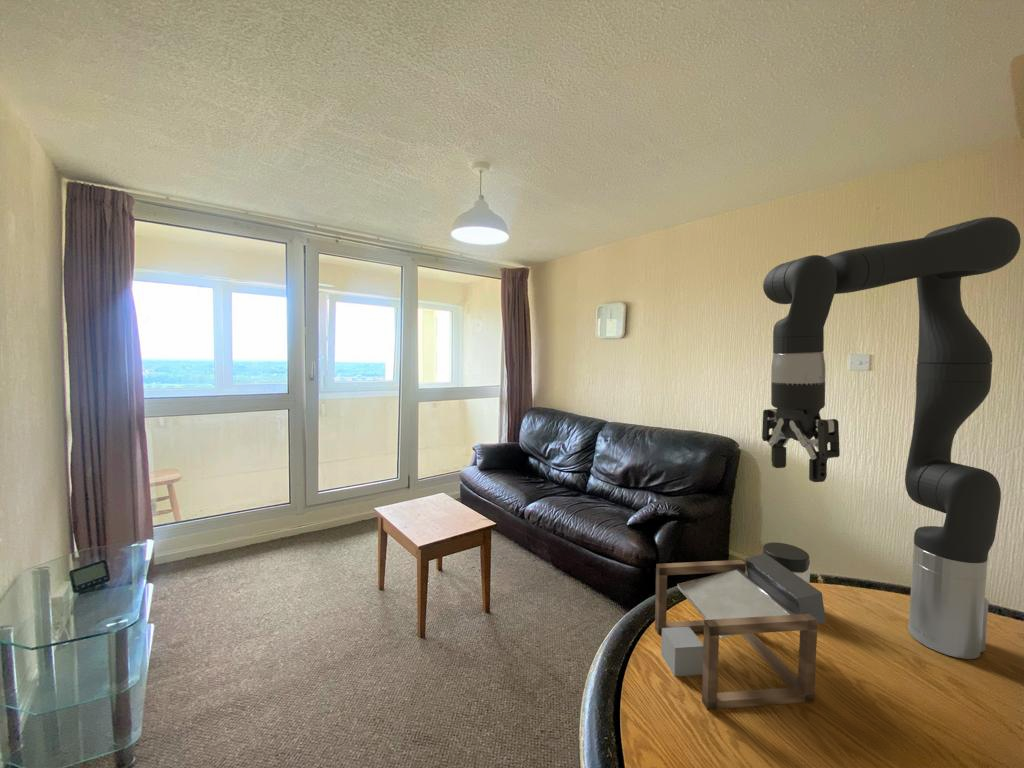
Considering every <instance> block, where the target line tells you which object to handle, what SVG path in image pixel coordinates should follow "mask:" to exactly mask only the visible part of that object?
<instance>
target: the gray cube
mask: <svg viewBox="0 0 1024 768" xmlns="http://www.w3.org/2000/svg"><path fill="white" fill-rule="evenodd" d="M660 645H661V646H660V647H661V654H660V655H661V657H662V659H663V660H664V662H665V663H666V665H667V667H668V668H669V670H670V671H671V673H672V675H673V676H674V677H685V676H686V677H687V676H698V675H699V676H700V675H703V642H702V641H701V640H700V639H699V637H698V636H697V634H696V632H693V631H692V630H691V628H690V627H673V628H662V634H661V644H660Z"/></svg>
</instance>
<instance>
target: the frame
mask: <svg viewBox="0 0 1024 768" xmlns="http://www.w3.org/2000/svg"><path fill="white" fill-rule="evenodd" d="M736 568H739V569H740V570H741V571H742V572H744V573H745V574H746V570H747V567H746V562H744V561H743V560H742V559H733V560H712V561H692V562H691V561H689V562H688V561H687V562H671V563H668V562H667V563H655V602H654V603H655V605H654V606H655V607H654V608H655V609H654V610H655V611H654V612H655V614H654V630H655V631H656V633H657V634H658V635H662V628H673V627H690V628H691V630H692V631H693V632H694V633H696V632H697V633H699V632H703V642H702V644H703V674H702V681H701V682H702V687H701V688H702V689H701V702H702V704H703V705H704V707H705V709H706V710H709V711H710V710H722V709H733V708H747V707H757V706H770V705H771V706H772V705H785V704H795V703H796V704H798V703H799V704H800V703H809V702H810V703H811V702H815V687H816V686H815V684H816V667H817V663H816V662H817V647H818V646H817V645H818V641H817V640H818V625H819V624H818V620H817V619H816V618H815V617H813V616H812V615H811V614H797V615H780V616H763V617H746V618H730V619H713V620H705V619H700V620H684V621H682V620H681V621H667V604H668V603H667V598H668V597H667V596H668V592H667V591H668V576H676V575H677V576H678V575H680V576H682V575H696V574H697V575H698V574H720V573H724V572H729V571H733V570H735V569H736ZM798 631H799V645H798V646H799V648H798V649H799V650H798V669H797V674H795V673H794V672H793V670H791V669H790V667H788V666H787V665H786V664H785V662H783V661H782V660H781V659H780V658H779V657H778V656H777V655H776V654H775V653H774V652H773V650H772V649H770V648H769V646H767V645H766V644H765V643H764V642H763V641H762V639H761V638H759V637H758V636H757V634H764V633H766V634H767V633H779V632H781V633H782V632H783V633H784V632H798ZM720 635H732V636H736V635H741V636H742V637H743V639H745V641H747V643H748V644H749V645H750V646H751V647H752V648H753V649H754V650H755V651H756V652H757V654H758V655H760V656H761V657H762V658H763V660H765V662H766V663H767V664H768V665H769V666H770V668H772V669H773V671H775V673H777V674H778V675H779V676H780V678H781V679H782V680H783V681H784V682H785V683H786V684H787V685H788V686H789V687H780V688H779V687H778V688H766V689H765V688H764V689H751V690H741V691H739V690H738V691H737V690H736V691H723V692H718V686H719V685H718V682H719V679H718V678H719V655H720V654H719V648H720Z"/></svg>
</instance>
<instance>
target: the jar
mask: <svg viewBox="0 0 1024 768" xmlns="http://www.w3.org/2000/svg"><path fill="white" fill-rule="evenodd" d="M762 554H767V555H768V556H769V557H771V558H772V559H774V560H775V561H777V562H778V563H780V564H781V565H783V566H784V567H785V568H787V569H788V570H790V571H791V572H793V573H794V574H796V575H797V576H798V577H800V578H801V579H803V580H804V581H806V582H807V583H809V584H810V581H811V580H810V578H811V577H810V576H811V566H810V561H811V560H810V555H809V554H808V552H807V551H805V550H804V549H802V548H800V547H798V546H796V545H794V544H793V545H792V544H788V543H784V542H774V541H773V542H767V543H764V544H763V546H762Z"/></svg>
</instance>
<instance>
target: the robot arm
mask: <svg viewBox="0 0 1024 768" xmlns="http://www.w3.org/2000/svg"><path fill="white" fill-rule="evenodd" d="M1021 241H1022V239H1021V234H1020V231H1019V229H1018V227H1017V226H1016V225H1015V223H1013V222H1012V221H1011V220H1009V219H1007V218H1003V217H999V216H986V217H981V218H980V217H979V218H974V219H971V220H967V221H963V222H960V223H955V224H952V225H948V226H946V227H945V226H944V227H941V228H938V229H935V230H932V231H931V232H928V233H927V234H926V235H924V237H921V238H914V239H910V240H909V239H908V240H902V241H894V242H890V243H889V242H888V243H883V244H876V245H870V246H863V247H857V248H854V249H853V248H852V249H847V250H843V251H838V252H836V253H833V254H830V255H827V256H823V255H820V254H813V255H807V256H804V257H800V258H797V259H793V260H791V261H786V262H784V263H781V264H778V265H776V266H775V267H773V268H772V269H771V270H770V271H769V272H768V273H767V274H766V276H765V277H764V280H763V284H762V289H763V293H764V294H765V296H766V297H767V299H769V300H770V301H771V302H773V303H776V304H779V305H790V308H789V311H788V314H787V315H786V316H785V317H784V318H781V319H779V320H778V321H776V322H775V324H774V325H773V333H772V354H773V355H772V360H771V371H770V374H771V375H770V377H771V379H770V381H771V387H770V388H771V393H770V394H771V396H770V397H771V398H770V400H771V401H770V402H771V406H772V407H773V408H769V409H768V408H767V409H763V413H762V431H761V434H762V435H761V439H762V441H764V442H768V445H769V447H771V448H770V449H771V455H770V456H771V467H773V468H775V469H784V468H786V466H787V447H785V446H786V445H787V443H788V442H789V440H791V439H792V440H793V441H794V440H795V441H798V442H799V444H800V446H802V448H805V450H806V452H807V453H808V456H809V459H808V460H809V461H808V463H809V464H808V473H809V474H808V479H809V481H810V482H813V483H823V482H825V480H826V478H827V477H828V476H827V473H828V472H827V471H828V464H827V463H828V460H829V459H834V458H839V457H840V455H841V453H840V429H839V428H840V425H839V421H838V420H837V419H836V418H831V419H830V418H827V419H824V418H823V419H822V418H821V414H820V411H821V410H823V408H825V407H826V362H825V354H824V350H825V349H824V348H825V347H824V346H825V339H824V338H825V331H824V330H825V325H826V321H827V319H828V317H829V314H830V311H831V306H832V303H833V300H834V297H835V295H840V294H850V293H855V292H861V291H865V290H871V289H874V288H880V287H884V286H888V285H892V284H895V283H900V282H903V281H904V282H905V281H909V280H913V279H916V288H917V297H918V298H917V299H918V351H917V359H916V377H915V390H916V391H915V396H916V397H915V408H914V418H913V429H912V436H911V441H910V446H909V451H908V458H907V462H906V468H905V473H904V474H905V476H904V479H905V480H904V484H905V490H906V493H907V495H908V497H909V498H910V499H911V500H912V502H915V503H916V504H918V505H920V506H922V507H924V508H925V507H926V508H929V509H931V510H934V511H937V512H941V513H943V514H945V518H944V523H943V526H938V525H937V526H935V525H934V526H933V525H929V526H928V525H926V526H925V525H924V526H920V527H918V528H916V529H915V531H914V535H913V551H912V552H913V553H912V571H911V582H910V597H909V598H910V599H909V610H908V611H909V614H908V627H907V628H908V629H907V630H908V633H909V634H910V636H911V637H912V638H913V639H915V640H916V641H917V642H919V643H920V644H922V645H924V646H925V647H927V648H929V649H931V650H932V651H936V652H938V653H941V654H944V655H946V656H950V657H954V658H958V659H965V660H973V659H978V658H979V657H980V656H981V652H982V653H983V652H985V651H986V642H987V630H988V628H987V627H988V617H989V616H988V615H989V600H988V599H987V598H986V588H987V574H988V573H987V570H988V560H989V559H988V557H989V552H990V550H991V548H992V546H993V545H994V542H995V539H996V531H997V525H998V520H999V513H1000V508H1001V501H1002V498H1001V496H1002V492H1001V486H1000V482H999V480H998V479H997V477H996V476H995V475H994V474H993V473H991V472H989V471H987V470H985V469H982V468H978V467H975V466H971V465H965V464H961V463H957V462H952V448H953V442H954V439H955V435H956V434H957V432H958V430H959V429H960V427H961V425H963V424H964V422H965V421H966V420H968V418H970V416H971V415H972V414H973V413H974V412H975V411H976V410H978V408H979V406H981V404H982V403H984V401H985V400H986V398H987V397H988V395H989V393H990V390H991V386H992V375H993V374H992V372H993V371H992V370H993V351H992V348H991V347H990V345H989V343H988V341H987V340H986V338H985V337H984V335H983V334H982V333H981V331H980V330H979V329H978V328H977V326H975V324H974V323H973V322H972V320H971V319H970V317H969V316H968V314H967V312H966V311H965V309H964V306H963V302H962V293H961V284H962V278H965V277H970V276H972V277H973V276H978V275H984V274H988V273H992V272H994V271H997V270H999V269H1001V268H1004V267H1005V266H1007V265H1008V264H1009V263H1011V262H1012V261H1013V260H1014V259H1015V258H1016V256H1017V255H1018V252H1019V250H1020V249H1021V248H1020V246H1021ZM771 429H772V430H771ZM770 430H771V434H770ZM828 444H829V445H830V446H829V445H828ZM815 447H816V448H817V450H816V448H815ZM828 447H830V449H828Z"/></svg>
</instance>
